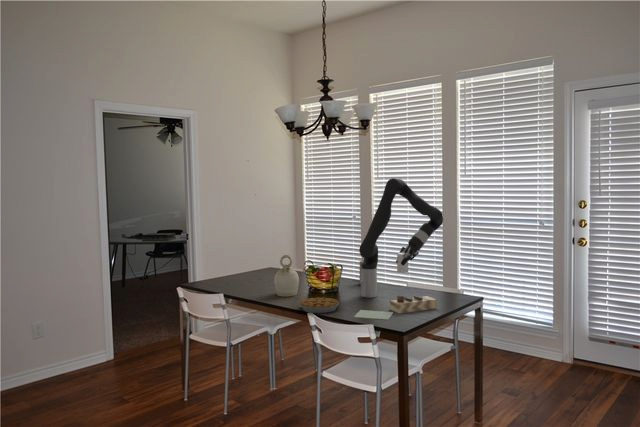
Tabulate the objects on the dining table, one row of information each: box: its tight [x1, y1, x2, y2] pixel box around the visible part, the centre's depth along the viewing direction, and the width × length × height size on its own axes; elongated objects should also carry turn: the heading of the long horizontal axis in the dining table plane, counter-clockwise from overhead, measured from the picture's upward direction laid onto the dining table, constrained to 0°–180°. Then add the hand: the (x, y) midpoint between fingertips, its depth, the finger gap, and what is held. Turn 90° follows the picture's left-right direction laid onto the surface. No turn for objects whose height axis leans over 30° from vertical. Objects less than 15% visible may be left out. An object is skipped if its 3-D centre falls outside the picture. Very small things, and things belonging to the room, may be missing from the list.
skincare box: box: [359, 260, 364, 285], centre depth 344 cm, size 8×7×16 cm
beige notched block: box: [389, 294, 438, 314], centre depth 276 cm, size 24×9×8 cm, turn 112°
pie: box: [299, 296, 340, 314], centre depth 281 cm, size 22×22×5 cm
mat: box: [353, 309, 394, 321], centre depth 265 cm, size 18×14×1 cm
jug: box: [273, 254, 300, 298], centre depth 316 cm, size 15×16×25 cm
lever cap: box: [396, 252, 409, 274], centre depth 272 cm, size 4×4×10 cm
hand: (399, 263), depth 271 cm, fingers closed on lever cap, 4 cm apart
